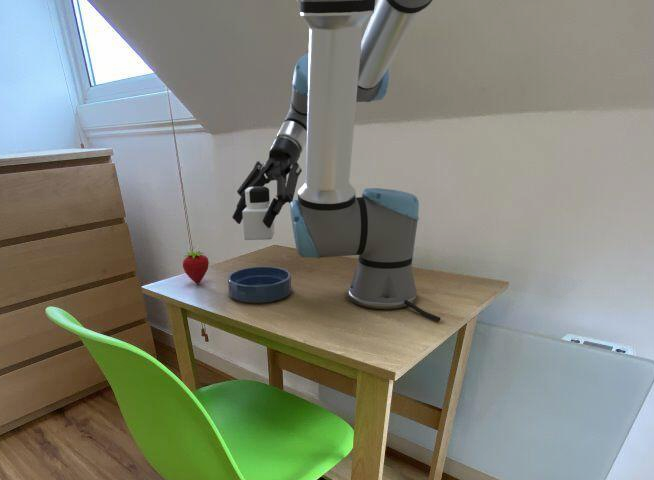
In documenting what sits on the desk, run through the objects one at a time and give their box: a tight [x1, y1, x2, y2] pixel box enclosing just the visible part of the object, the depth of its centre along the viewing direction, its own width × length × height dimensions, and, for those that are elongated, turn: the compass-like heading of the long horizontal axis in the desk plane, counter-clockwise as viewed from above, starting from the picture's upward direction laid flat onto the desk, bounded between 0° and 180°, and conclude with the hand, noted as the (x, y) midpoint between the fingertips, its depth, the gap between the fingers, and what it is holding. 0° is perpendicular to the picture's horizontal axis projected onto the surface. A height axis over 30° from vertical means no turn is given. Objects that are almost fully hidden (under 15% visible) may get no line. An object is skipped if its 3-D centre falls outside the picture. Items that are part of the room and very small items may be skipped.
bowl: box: [227, 265, 292, 304], centre depth 106 cm, size 15×15×4 cm
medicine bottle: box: [242, 185, 275, 241], centre depth 110 cm, size 7×7×12 cm
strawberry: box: [182, 247, 210, 285], centre depth 113 cm, size 6×8×10 cm
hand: (250, 222), depth 109 cm, fingers closed on medicine bottle, 10 cm apart
